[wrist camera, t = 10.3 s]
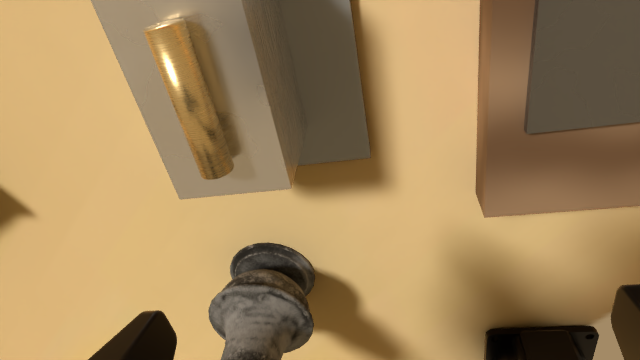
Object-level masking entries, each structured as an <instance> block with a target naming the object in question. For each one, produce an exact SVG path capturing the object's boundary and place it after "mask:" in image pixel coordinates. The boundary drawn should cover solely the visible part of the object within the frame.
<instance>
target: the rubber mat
mask: <svg viewBox="0 0 640 360" xmlns="http://www.w3.org/2000/svg"><path fill="white" fill-rule="evenodd" d="M280 4H281V9H282V13H283V18H284V22H285V27H286V32H287V36H288V41H289V45H290V50H291V54H292V59H293V63H294V68H295V73H296V77H297V82H298V86H299V91H300V95H301V100H302V104H303V109H304V113H305V118H306V123H307V130H306V134H305V138H304V142H303V146H302V150H301V154H300V157H299V161H298V165H307V164H316V163H326V162H335V161H345V160H355V159H364V158H371V152H370V145H369V137H368V130H367V122H366V115H365V107H364V100H363V92H362V85H361V77H360V70H359V62H358V55H357V48H356V40H355V33H354V25H353V18H352V10H351V3H350V0H280Z"/></svg>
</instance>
